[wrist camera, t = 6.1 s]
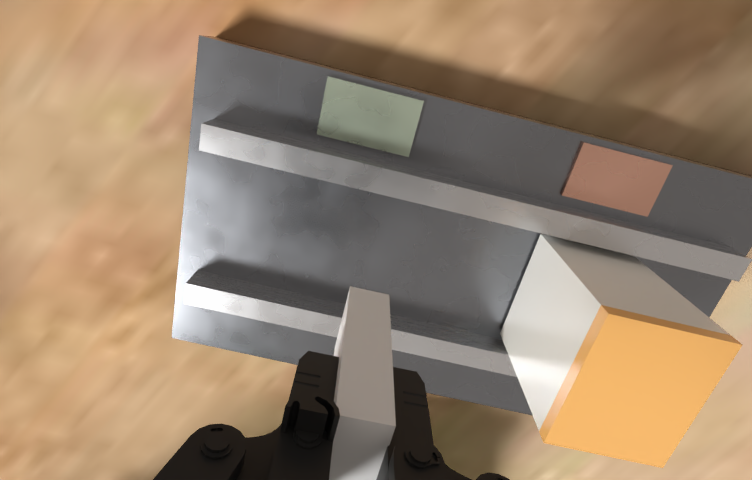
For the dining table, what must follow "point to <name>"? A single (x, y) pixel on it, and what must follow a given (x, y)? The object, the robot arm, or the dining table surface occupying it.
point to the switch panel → (414, 216)
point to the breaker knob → (610, 352)
